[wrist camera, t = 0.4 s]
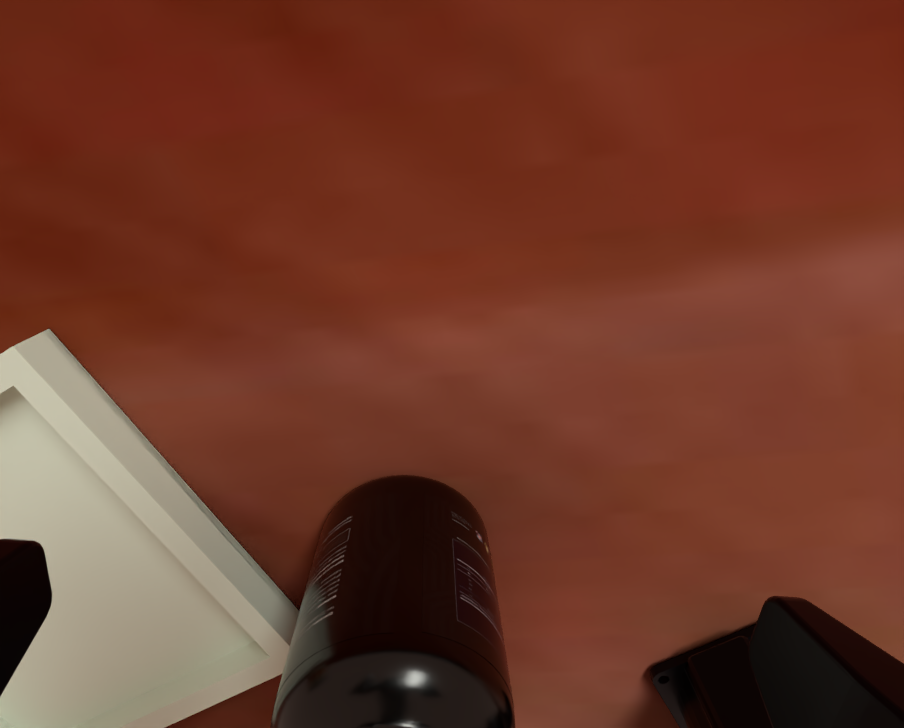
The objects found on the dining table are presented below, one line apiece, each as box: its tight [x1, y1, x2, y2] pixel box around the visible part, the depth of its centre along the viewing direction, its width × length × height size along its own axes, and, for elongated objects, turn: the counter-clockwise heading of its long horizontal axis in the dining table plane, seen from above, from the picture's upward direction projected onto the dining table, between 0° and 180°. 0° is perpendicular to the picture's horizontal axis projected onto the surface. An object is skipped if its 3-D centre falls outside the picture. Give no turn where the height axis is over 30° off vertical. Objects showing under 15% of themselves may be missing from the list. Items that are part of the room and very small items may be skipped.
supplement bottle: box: [270, 475, 515, 728], centre depth 18 cm, size 7×7×12 cm
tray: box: [0, 329, 299, 728], centre depth 23 cm, size 16×16×2 cm
